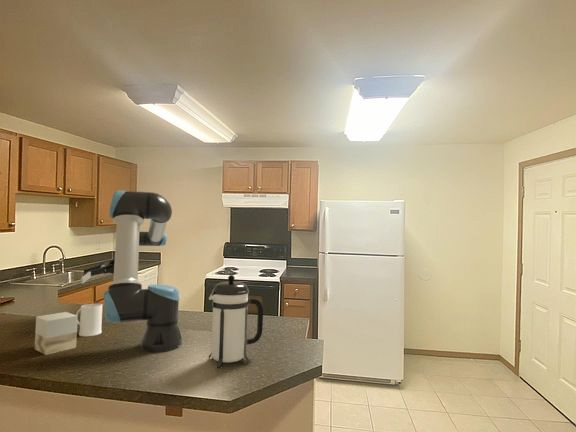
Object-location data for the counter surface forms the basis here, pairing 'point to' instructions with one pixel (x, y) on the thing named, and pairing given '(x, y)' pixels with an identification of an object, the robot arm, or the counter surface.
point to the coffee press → (232, 321)
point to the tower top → (56, 324)
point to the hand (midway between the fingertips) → (97, 283)
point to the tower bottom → (55, 343)
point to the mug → (90, 319)
